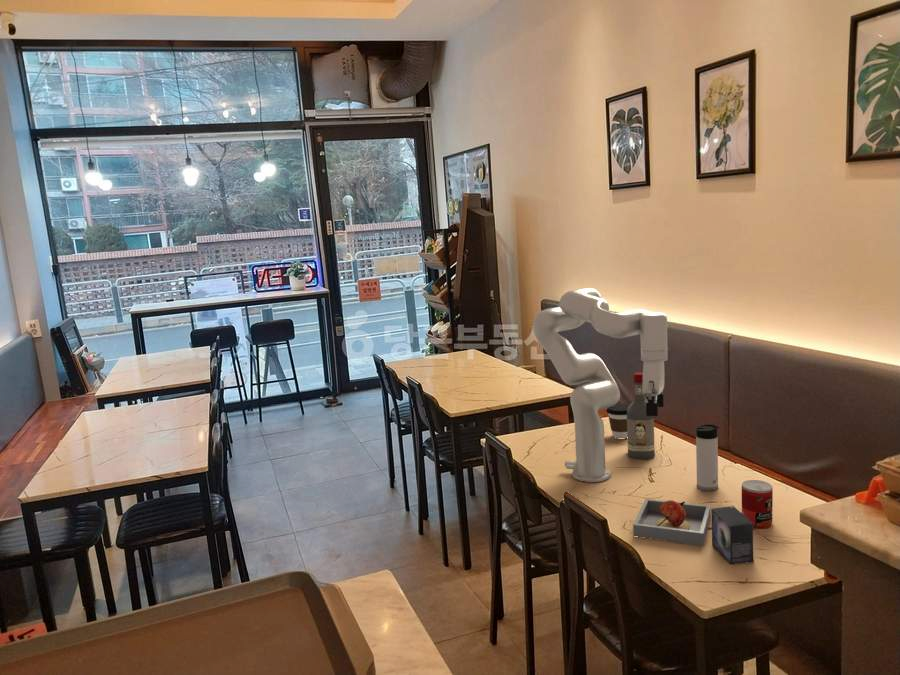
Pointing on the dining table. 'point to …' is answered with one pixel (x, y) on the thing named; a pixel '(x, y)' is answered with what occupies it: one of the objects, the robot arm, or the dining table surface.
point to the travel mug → (707, 457)
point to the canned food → (757, 502)
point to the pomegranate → (673, 512)
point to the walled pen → (687, 532)
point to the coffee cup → (618, 420)
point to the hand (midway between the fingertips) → (655, 411)
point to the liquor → (640, 425)
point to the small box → (732, 535)
